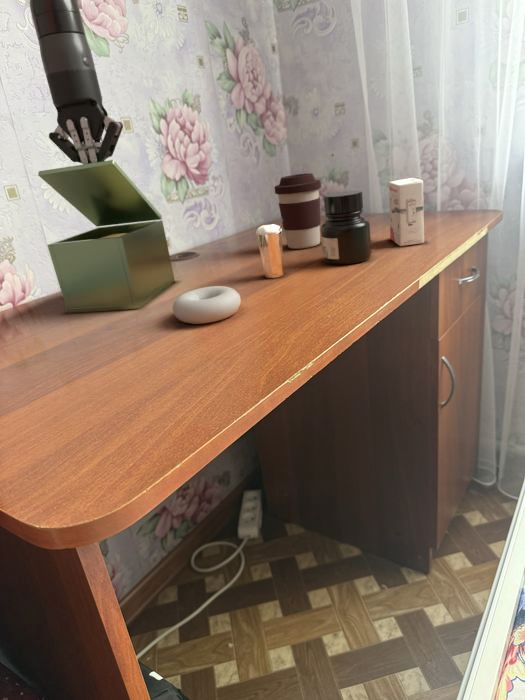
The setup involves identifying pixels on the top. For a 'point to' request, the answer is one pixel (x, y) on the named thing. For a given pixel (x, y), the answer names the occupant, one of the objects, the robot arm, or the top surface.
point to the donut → (206, 304)
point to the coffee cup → (300, 209)
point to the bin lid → (101, 193)
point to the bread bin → (113, 267)
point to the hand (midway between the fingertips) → (99, 187)
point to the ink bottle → (345, 229)
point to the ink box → (406, 211)
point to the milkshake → (271, 249)
